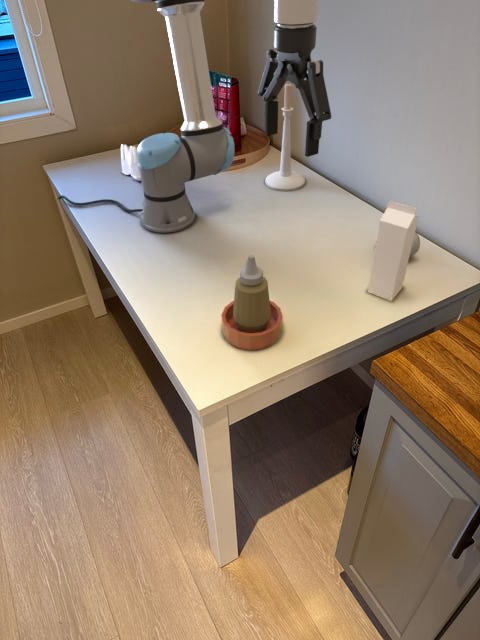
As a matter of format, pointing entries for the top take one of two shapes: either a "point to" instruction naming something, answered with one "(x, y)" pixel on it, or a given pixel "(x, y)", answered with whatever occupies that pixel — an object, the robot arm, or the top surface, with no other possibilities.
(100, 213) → the top surface
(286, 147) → the candlestick
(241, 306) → the squeeze bottle
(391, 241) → the milk
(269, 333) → the holder
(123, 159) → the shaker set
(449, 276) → the top surface
